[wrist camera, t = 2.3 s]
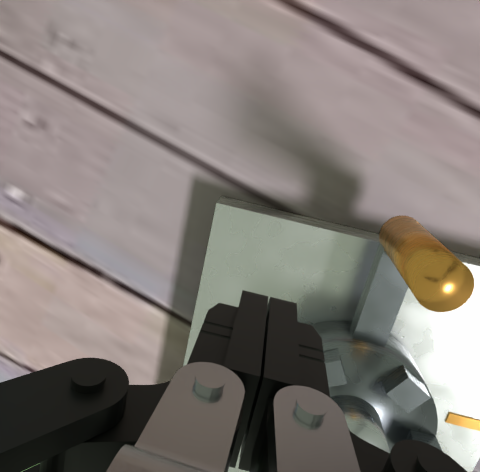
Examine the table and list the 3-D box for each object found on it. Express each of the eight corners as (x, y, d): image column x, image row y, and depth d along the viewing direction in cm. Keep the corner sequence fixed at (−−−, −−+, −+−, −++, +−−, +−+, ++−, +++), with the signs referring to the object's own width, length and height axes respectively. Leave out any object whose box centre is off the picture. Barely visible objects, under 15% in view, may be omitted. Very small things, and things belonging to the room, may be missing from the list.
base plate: (221, 196, 28) (216, 203, 26) (549, 275, 27) (570, 288, 25) (169, 445, 35) (162, 466, 33) (427, 514, 34) (436, 540, 32)
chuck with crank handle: (312, 190, 25) (322, 228, 17) (495, 233, 24) (589, 293, 17) (244, 431, 31) (229, 539, 23) (390, 469, 30) (424, 592, 23)
